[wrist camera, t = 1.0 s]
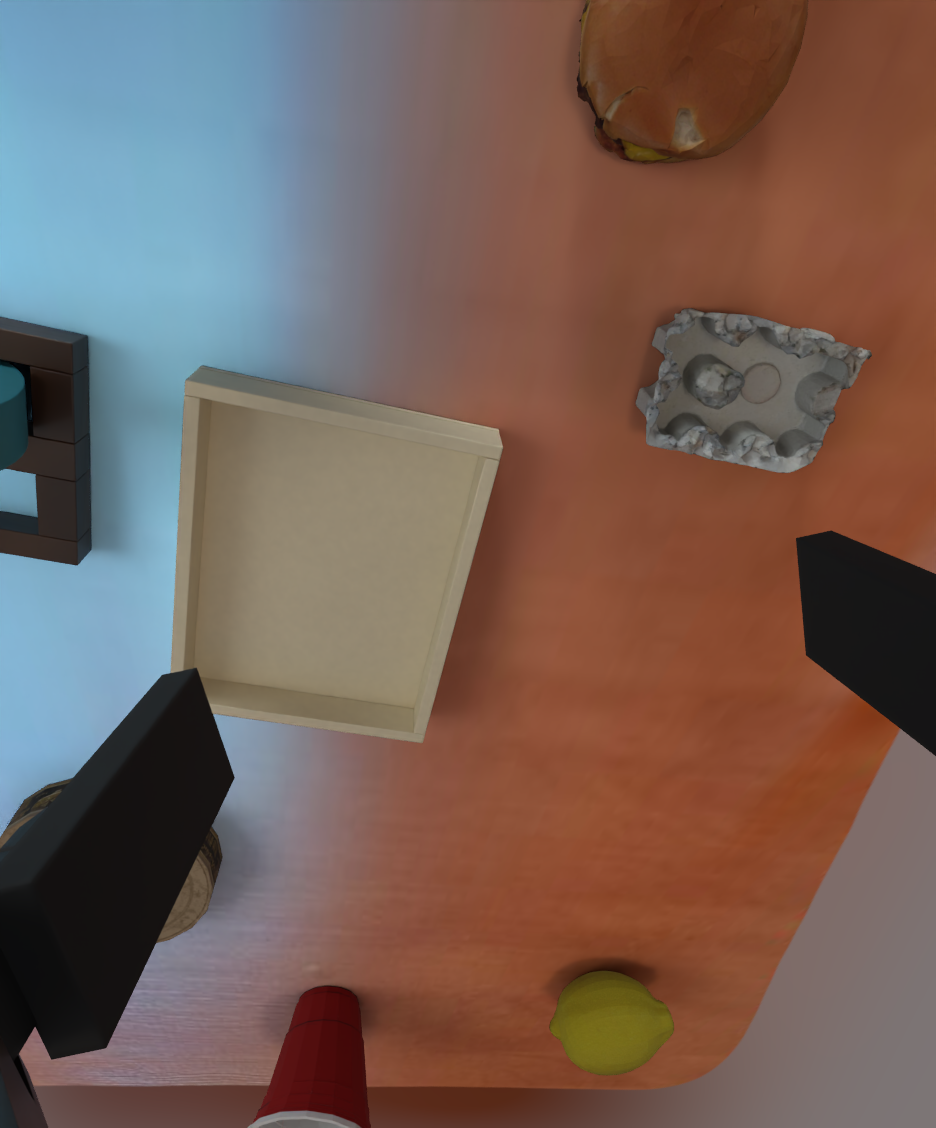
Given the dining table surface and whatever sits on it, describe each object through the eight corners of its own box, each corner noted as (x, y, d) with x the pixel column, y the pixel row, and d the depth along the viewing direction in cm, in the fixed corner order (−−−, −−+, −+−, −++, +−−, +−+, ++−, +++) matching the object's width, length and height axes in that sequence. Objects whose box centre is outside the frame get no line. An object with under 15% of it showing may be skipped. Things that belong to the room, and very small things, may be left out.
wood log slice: (-10, 882, 57) (-31, 916, 55) (36, 748, 51) (15, 780, 48) (185, 933, 62) (175, 967, 59) (251, 815, 55) (242, 847, 53)
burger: (772, -126, 30) (826, -170, 26) (787, 125, 34) (834, 120, 30) (544, -43, 31) (561, -73, 27) (587, 190, 35) (607, 195, 31)
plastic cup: (263, 969, 65) (232, 1124, 54) (383, 968, 66) (375, 1120, 55) (272, 1035, 70) (245, 1189, 60) (383, 1033, 71) (376, 1184, 60)
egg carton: (844, 333, 40) (886, 349, 36) (786, 459, 43) (820, 485, 39) (664, 290, 38) (690, 303, 34) (619, 425, 41) (638, 450, 38)
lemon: (540, 1003, 70) (553, 1096, 63) (546, 954, 66) (560, 1048, 59) (649, 998, 70) (674, 1090, 63) (662, 950, 67) (690, 1042, 60)
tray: (201, 365, 39) (184, 379, 36) (498, 429, 41) (503, 447, 39) (182, 678, 49) (168, 707, 46) (422, 713, 51) (422, 743, 49)
